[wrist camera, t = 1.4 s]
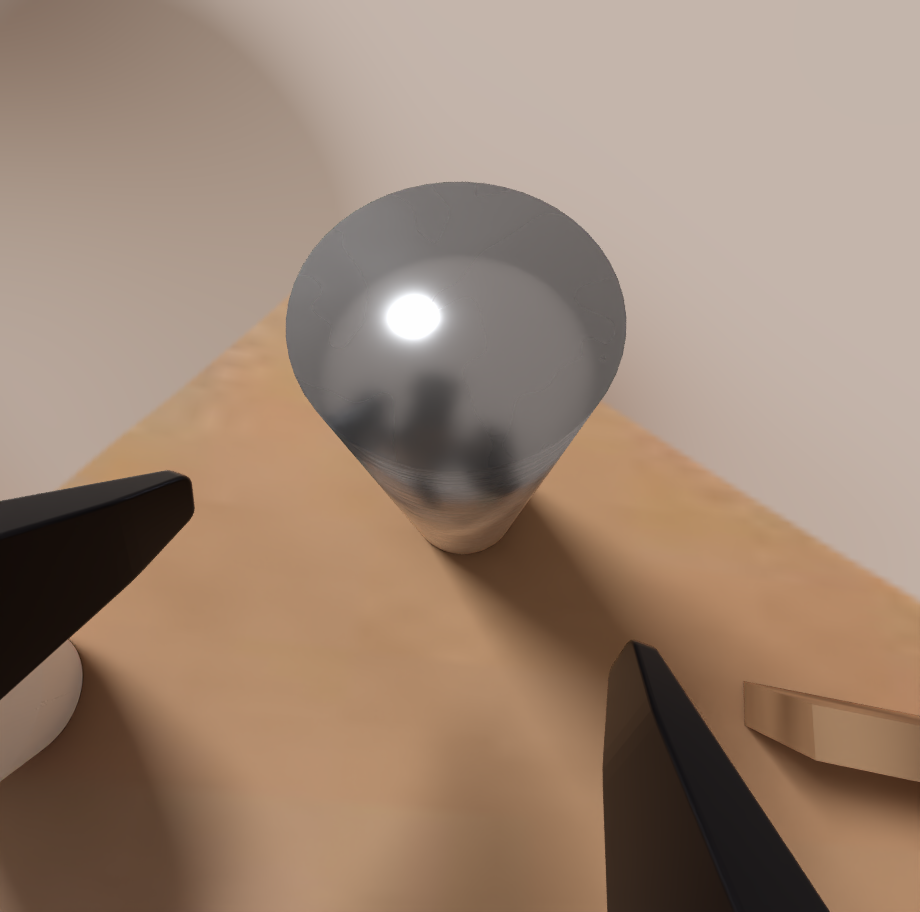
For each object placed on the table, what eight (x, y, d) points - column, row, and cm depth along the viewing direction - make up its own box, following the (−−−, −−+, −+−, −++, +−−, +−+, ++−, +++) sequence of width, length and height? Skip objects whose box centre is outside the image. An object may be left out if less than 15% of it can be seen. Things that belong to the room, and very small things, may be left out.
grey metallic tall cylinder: (521, 550, 19) (659, 457, 5) (411, 557, 19) (272, 483, 5) (510, 446, 20) (595, 173, 7) (409, 453, 20) (296, 191, 7)
